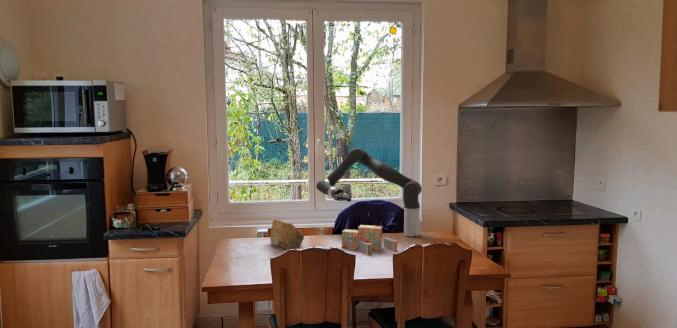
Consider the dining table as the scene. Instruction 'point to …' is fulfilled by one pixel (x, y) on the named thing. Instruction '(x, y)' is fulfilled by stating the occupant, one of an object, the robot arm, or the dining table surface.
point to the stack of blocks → (363, 237)
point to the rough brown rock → (285, 235)
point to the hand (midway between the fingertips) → (350, 200)
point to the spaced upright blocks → (367, 247)
